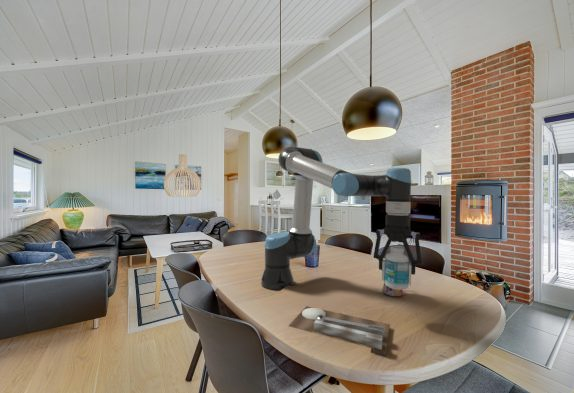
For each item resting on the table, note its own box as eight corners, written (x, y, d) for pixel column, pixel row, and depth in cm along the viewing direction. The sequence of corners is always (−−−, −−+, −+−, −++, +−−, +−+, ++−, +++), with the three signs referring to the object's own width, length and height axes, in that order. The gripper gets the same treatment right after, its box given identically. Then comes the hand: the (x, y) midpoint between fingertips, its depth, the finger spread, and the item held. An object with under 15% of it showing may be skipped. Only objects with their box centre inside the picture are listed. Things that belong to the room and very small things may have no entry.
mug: (406, 299, 97) (406, 273, 97) (381, 296, 100) (381, 270, 100) (402, 288, 108) (402, 264, 108) (380, 286, 111) (380, 263, 111)
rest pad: (298, 316, 81) (298, 315, 81) (307, 307, 88) (307, 306, 88) (321, 322, 77) (321, 321, 77) (328, 311, 84) (328, 310, 84)
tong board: (288, 329, 75) (288, 318, 75) (306, 309, 88) (306, 299, 88) (385, 356, 62) (385, 342, 62) (389, 328, 76) (389, 316, 76)
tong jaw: (315, 325, 74) (315, 317, 74) (317, 321, 77) (317, 313, 77) (383, 339, 67) (383, 329, 67) (383, 334, 70) (383, 325, 70)
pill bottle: (380, 282, 86) (381, 244, 86) (400, 282, 87) (401, 244, 86) (391, 291, 79) (392, 249, 78) (413, 290, 79) (414, 249, 79)
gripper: (364, 213, 83) (363, 279, 84) (433, 216, 74) (431, 291, 75) (368, 211, 90) (366, 273, 90) (431, 215, 81) (430, 283, 81)
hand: (396, 281), depth 83 cm, fingers closed on pill bottle, 7 cm apart
